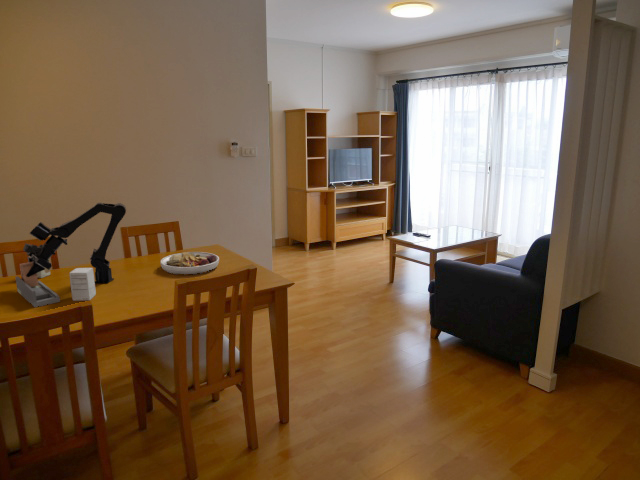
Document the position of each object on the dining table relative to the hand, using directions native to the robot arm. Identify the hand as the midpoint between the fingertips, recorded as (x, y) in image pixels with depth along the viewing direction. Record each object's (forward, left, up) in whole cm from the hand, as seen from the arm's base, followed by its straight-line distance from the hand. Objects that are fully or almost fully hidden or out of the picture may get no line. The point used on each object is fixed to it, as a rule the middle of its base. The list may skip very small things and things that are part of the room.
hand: (25, 275), depth 205 cm
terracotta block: (-1, -1, -5) cm, 5 cm away
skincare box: (+8, -22, -8) cm, 25 cm away
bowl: (-59, -45, -8) cm, 75 cm away
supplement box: (-29, +4, -8) cm, 30 cm away
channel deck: (-8, +5, -8) cm, 13 cm away
